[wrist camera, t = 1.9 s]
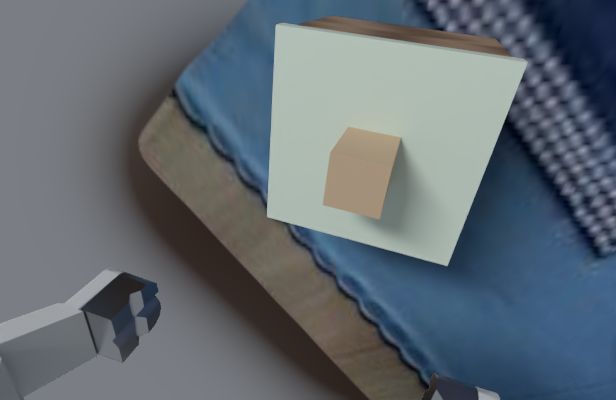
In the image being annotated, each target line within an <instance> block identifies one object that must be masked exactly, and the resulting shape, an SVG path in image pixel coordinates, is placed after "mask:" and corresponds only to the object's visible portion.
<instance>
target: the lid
mask: <svg viewBox="0 0 616 400" xmlns="http://www.w3.org/2000/svg"><path fill="white" fill-rule="evenodd" d="M527 63H528V62H527V61H526V60H525V59H522V58H515V57H508V56H501V55H495V54H488V53H481V52H475V51H468V50H461V49H454V48H448V47H441V46H434V45H427V44H421V43H414V42H407V41H401V40H394V39H387V38H380V37H374V36H367V35H360V34H353V33H347V32H340V31H333V30H327V29H320V28H313V27H306V26H300V25H293V24H286V23H280V24H276V33H275V54H274V76H273V98H272V119H271V141H270V162H269V184H268V206H267V217H269V218H273V219H276V220H280V221H284V222H287V223H291V224H295V225H298V226H302V227H306V228H309V229H313V230H317V231H320V232H324V233H328V234H331V235H335V236H339V237H342V238H346V239H350V240H353V241H357V242H361V243H364V244H368V245H372V246H375V247H379V248H383V249H386V250H390V251H394V252H397V253H401V254H405V255H408V256H412V257H416V258H419V259H423V260H427V261H430V262H434V263H438V264H441V265H445V266H448V263H449V261H450V258H451V256H452V253H453V251H454V248H455V246H456V243H457V240H458V238H459V235H460V233H461V230H462V228H463V225H464V223H465V220H466V218H467V215H468V213H469V210H470V207H471V205H472V202H473V200H474V197H475V195H476V192H477V190H478V187H479V185H480V182H481V180H482V177H483V174H484V172H485V169H486V167H487V164H488V162H489V159H490V157H491V154H492V152H493V149H494V147H495V144H496V141H497V139H498V136H499V134H500V131H501V129H502V126H503V124H504V121H505V119H506V116H507V113H508V111H509V108H510V106H511V103H512V101H513V98H514V96H515V93H516V91H517V88H518V86H519V83H520V80H521V78H522V75H523V73H524V70H525V68H526V65H527Z"/></svg>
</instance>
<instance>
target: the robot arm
mask: <svg viewBox="0 0 616 400" xmlns="http://www.w3.org/2000/svg"><path fill="white" fill-rule="evenodd" d="M157 292H158V288H157V284H156V283H154V282H151V281H149V280H146V279H143V278H140V277H138V276H134V275H132V274H129V273H126V272H123V271H120V270H117V269H114V268H109V269H106V270H104V271H103V272H102V273H100V274H99V275H98V276H97V277H96V278H95V279H93V280H92V281H91V282H90V283H88V284H87V285H86V286H85V287H84V288H82V289H81V290H80V291H79V292H78V293H76V294H75V295H74V296H73V297H72V298H70V299H69V300H68V301H67V302H66V303H64V304H62V303H58V304H55V305H52V306H49V307H46V308H43V309H41V310H37V311H35V312H32V313H29V314H26V315H24V316H20V317H18V318H15V319H12V320H9V321H7V322H4V323H1V324H0V400H24V398H23V397H24V396H26V395H28V394H30V393H32V392H34V391H35V390H37V389H39V388H41V387H42V386H44V385H46V384H48V383H50V382H51V381H53V380H55V379H56V378H59V377H60V376H62V375H64V374H66V373H68V372H69V371H71V370H73V369H75V368H76V367H78V366H80V365H82V364H84V363H85V362H87V361H89V360H91V359H93V358H94V357H96V356H97V354H98V355H102V356H104V357H107V358H110V359H113V360H116V361H118V362H121V363H123V362H124V361H125V360H126V359H127V357H128V356H129V355H130V354H131V353H132V351H133V350H134V349H135V348H136V347H137V346H138V345H139V337H140V336H142V335H144V334H146V333H148V332H150V330H151V329H152V328H153V327H154V325H155V324H156V322H157V320H158V318H159V315H160V310H161V305H160V302H159V300H158V299H157V297H156V296H155V294H156V293H157ZM422 400H500V397H499V396H498V394H497V393H495V392H492V391H488V390H485V389H482V388H479V387H475V386H474V385H471V384H468V383H465V382H462V381H458V380H455V379H452V378H449V377H446V376H442V375H439V374H436V373H434V374H433V375H432V377H431V379H430V381H429V390H427V391H425V392H424V395H423V397H422Z"/></svg>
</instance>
